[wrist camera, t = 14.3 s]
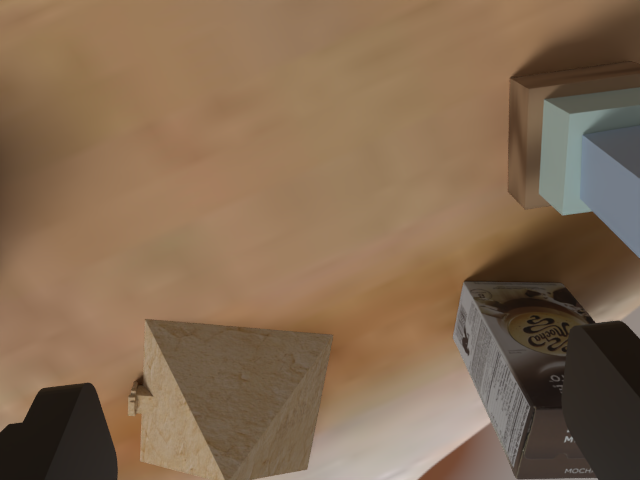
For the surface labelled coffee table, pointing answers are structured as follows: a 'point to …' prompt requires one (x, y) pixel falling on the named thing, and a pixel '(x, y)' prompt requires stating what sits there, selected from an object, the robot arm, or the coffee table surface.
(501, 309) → the coffee box
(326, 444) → the coffee table surface
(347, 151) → the coffee table surface
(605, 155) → the slate pillar
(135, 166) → the coffee table surface
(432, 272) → the coffee table surface
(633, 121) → the sage slab
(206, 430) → the model pyramid
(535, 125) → the walnut slab
